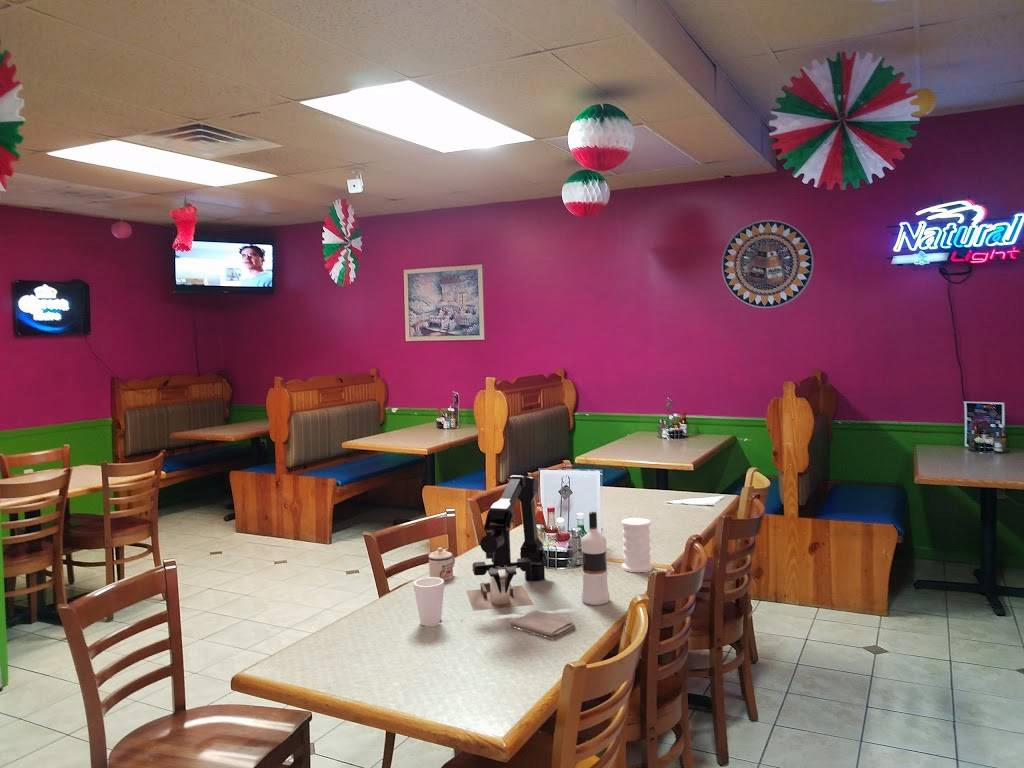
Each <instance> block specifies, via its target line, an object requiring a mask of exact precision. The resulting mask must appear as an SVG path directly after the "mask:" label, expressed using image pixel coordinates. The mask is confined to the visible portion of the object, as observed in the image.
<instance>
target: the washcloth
mask: <svg viewBox="0 0 1024 768" xmlns="http://www.w3.org/2000/svg"><path fill="white" fill-rule="evenodd" d="M510 626H511V627H516V628H520V629H522V630H525V631H528V632H532V633H535V634H539V635H542V636H546V637H547V638H546V639H548V638H550V639H549V640H552V639H553V640H554V639H558V638H560V637H562V636H564V635H566V634H568V633H570V632H571V630H572V631H574V630H575V629H576V624H575V623H573V620H571V619H568V618H565V617H563V616H562V615H557V614H553V613H550V612H546V611H541V610H538V609H534V610H531V611H529V612H527V613H526V614H524V615H523V616H520V617H518V618H515V619H513V620H511V621H510V622H509V627H510ZM511 627H510V628H511ZM573 629H574V630H573ZM522 630H521V631H522ZM525 631H524V632H525ZM569 631H570V632H569ZM528 632H527V633H528ZM567 632H568V633H567ZM532 633H531V634H532ZM565 633H566V634H565ZM535 634H534V635H535ZM539 635H538V636H539ZM561 635H562V636H561ZM542 636H541V637H542ZM557 637H558V638H557Z"/></svg>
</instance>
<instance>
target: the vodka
mask: <svg viewBox="0 0 1024 768" xmlns="http://www.w3.org/2000/svg"><path fill="white" fill-rule="evenodd" d="M597 517H598V515H597V512H596V511H589V512H588V522H589V523H588V525H589V527H588V528H589V531H588V532H587V533H586V534H584V535H582V537H581V540H580V543H581V555H582V556H581V557H582V571H581V574H582V590H581V591H582V593H581V601H582V602H583V603H585V604H586V605H589V604H590V605H589V606H602V604H603V605H605V603H606V604H607V603H609V601H610V598H611V597H610V596H611V595H610V592H609V586H608V573H609V572H608V568H607V567H608V564H607V562H608V561H607V550H608V549H607V538H606V537H605V535H604V534H602V533H600V532H599V531H598V519H597Z"/></svg>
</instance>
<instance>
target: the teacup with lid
mask: <svg viewBox="0 0 1024 768" xmlns="http://www.w3.org/2000/svg"><path fill="white" fill-rule="evenodd" d="M427 559H428V567H429V577H437V578H441V579H443V580H444V581H451V580H453V578H454V569H453V568H454V567H455V564H456V557H455V556H453V553H452V552H450V551H446V550H444V548H443V547H437V550H435V551H433V552H432V553H429V555H428V557H427Z"/></svg>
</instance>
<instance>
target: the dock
mask: <svg viewBox="0 0 1024 768" xmlns="http://www.w3.org/2000/svg"><path fill="white" fill-rule="evenodd" d="M466 594H467V597H468V601H469V602H470V605H471V609H472V611H483V610H492V609H493V610H494V609H501V608H503V609H505V608H513V607H523V606H532V605H533V606H534V602H533V601H532V599H531V598H530V596H529V594H528V592H527V591H526V589H525V586H524V585H512V584H511V583H510V602H509V603H507V604H503V605H496V604H493V603H491V591H490V581H489V582H480V588H479V589H469V590H466Z"/></svg>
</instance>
